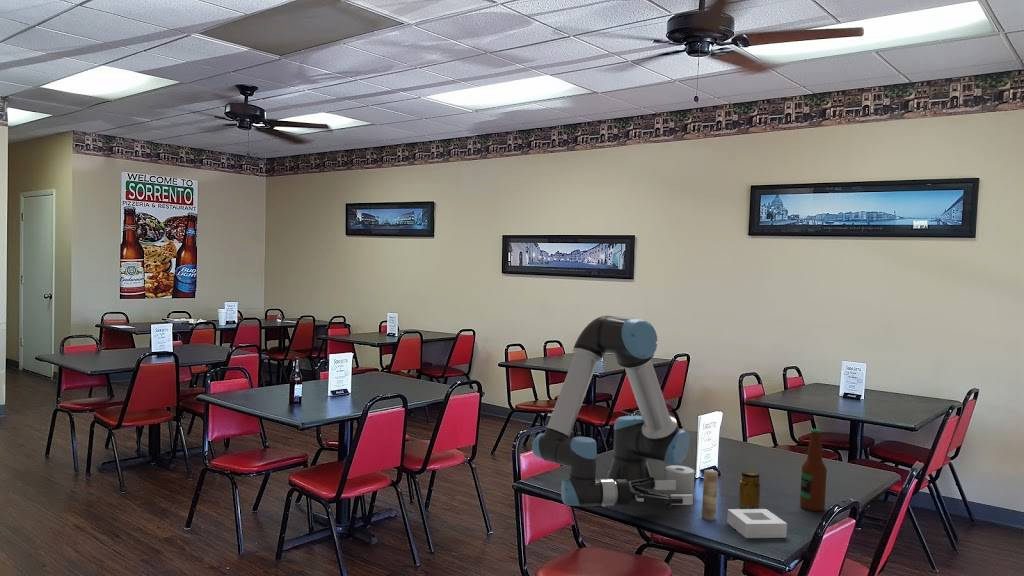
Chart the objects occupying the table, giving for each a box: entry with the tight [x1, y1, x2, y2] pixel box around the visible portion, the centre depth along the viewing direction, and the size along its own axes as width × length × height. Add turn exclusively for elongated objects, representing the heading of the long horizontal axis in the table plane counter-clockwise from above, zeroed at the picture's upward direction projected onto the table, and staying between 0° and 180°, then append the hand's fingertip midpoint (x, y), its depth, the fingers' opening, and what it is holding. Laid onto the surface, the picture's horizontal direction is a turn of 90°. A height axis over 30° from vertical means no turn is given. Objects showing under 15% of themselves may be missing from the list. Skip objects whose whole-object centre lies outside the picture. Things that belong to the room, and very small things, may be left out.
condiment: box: [738, 470, 761, 509], centre depth 223 cm, size 7×8×12 cm
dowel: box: [701, 469, 719, 521], centre depth 216 cm, size 4×4×14 cm
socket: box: [726, 508, 788, 539], centre depth 208 cm, size 12×12×4 cm
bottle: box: [799, 428, 828, 512], centre depth 230 cm, size 7×7×25 cm
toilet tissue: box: [663, 464, 695, 496], centre depth 239 cm, size 9×13×9 cm
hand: (683, 492), depth 215 cm, fingers open, 13 cm apart
